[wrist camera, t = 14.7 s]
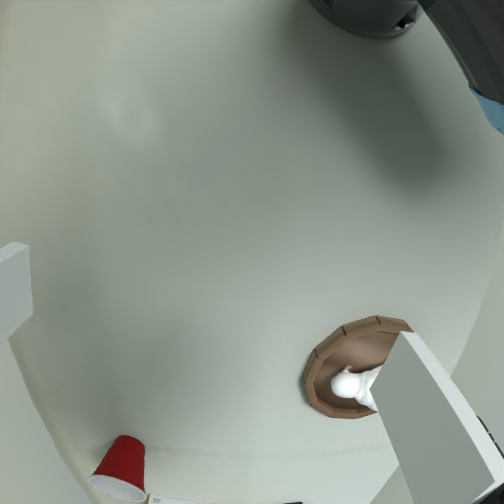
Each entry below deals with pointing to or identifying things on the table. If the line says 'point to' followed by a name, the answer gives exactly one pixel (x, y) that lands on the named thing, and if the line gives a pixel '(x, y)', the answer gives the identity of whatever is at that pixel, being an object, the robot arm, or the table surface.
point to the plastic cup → (122, 471)
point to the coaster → (349, 362)
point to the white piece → (356, 386)
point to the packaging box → (169, 500)
